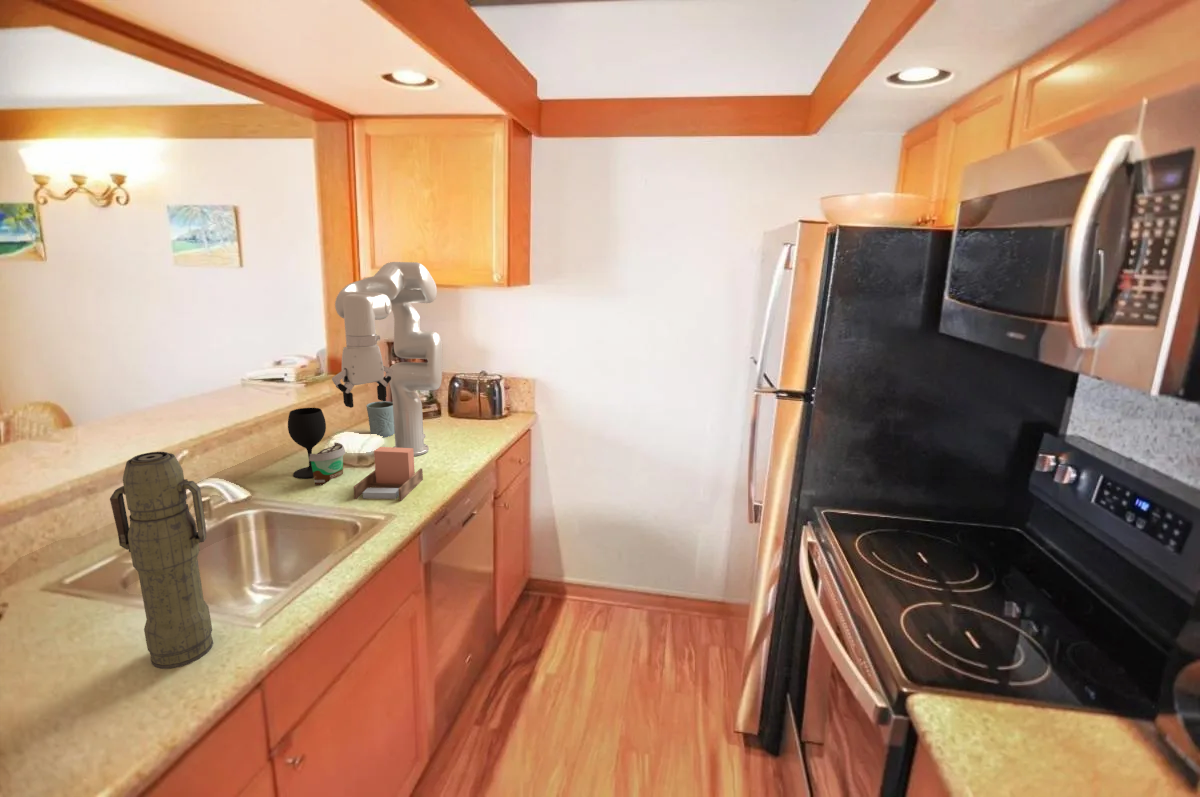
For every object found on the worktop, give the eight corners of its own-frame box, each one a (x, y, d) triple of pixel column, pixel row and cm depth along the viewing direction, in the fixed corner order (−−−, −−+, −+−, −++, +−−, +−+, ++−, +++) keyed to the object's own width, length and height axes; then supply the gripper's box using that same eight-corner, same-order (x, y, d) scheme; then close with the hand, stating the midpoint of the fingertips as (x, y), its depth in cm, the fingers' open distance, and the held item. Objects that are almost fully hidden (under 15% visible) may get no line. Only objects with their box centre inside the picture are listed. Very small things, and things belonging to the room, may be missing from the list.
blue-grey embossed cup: (393, 429, 227) (391, 400, 225) (399, 436, 219) (397, 405, 216) (366, 433, 222) (364, 402, 219) (371, 439, 214) (369, 408, 211)
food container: (330, 488, 168) (327, 456, 166) (311, 486, 169) (308, 454, 167) (355, 474, 180) (353, 443, 178) (338, 472, 181) (335, 441, 179)
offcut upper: (368, 493, 162) (367, 487, 161) (400, 494, 162) (399, 488, 162) (363, 498, 158) (362, 492, 158) (395, 499, 158) (395, 493, 158)
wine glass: (308, 465, 186) (302, 405, 181) (337, 468, 184) (331, 408, 179) (285, 477, 176) (278, 414, 172) (315, 480, 174) (308, 416, 170)
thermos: (149, 643, 100) (114, 451, 92) (228, 629, 104) (201, 444, 96) (130, 676, 92) (90, 470, 84) (216, 660, 96) (186, 461, 88)
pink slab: (382, 485, 172) (380, 446, 169) (415, 486, 171) (413, 448, 168) (376, 490, 168) (373, 451, 165) (410, 491, 167) (407, 452, 164)
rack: (380, 482, 174) (379, 466, 173) (423, 484, 173) (422, 468, 172) (354, 503, 158) (353, 486, 157) (401, 506, 157) (400, 488, 156)
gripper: (382, 337, 163) (386, 396, 167) (322, 343, 149) (328, 407, 153) (398, 339, 158) (401, 400, 162) (337, 346, 145) (343, 411, 149)
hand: (366, 403), depth 158 cm, fingers open, 9 cm apart
